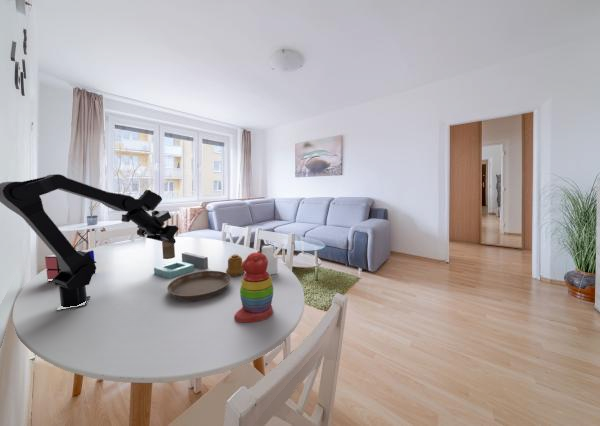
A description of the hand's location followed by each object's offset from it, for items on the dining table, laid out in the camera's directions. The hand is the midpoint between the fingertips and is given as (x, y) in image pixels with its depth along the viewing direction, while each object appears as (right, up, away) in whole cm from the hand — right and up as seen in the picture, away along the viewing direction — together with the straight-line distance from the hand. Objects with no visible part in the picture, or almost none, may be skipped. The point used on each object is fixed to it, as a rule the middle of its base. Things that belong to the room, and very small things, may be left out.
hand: (171, 241), depth 100 cm
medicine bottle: (+42, -13, -2) cm, 44 cm away
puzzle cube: (-35, -14, -8) cm, 39 cm away
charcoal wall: (+7, -12, +6) cm, 15 cm away
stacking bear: (+44, -17, -34) cm, 58 cm away
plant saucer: (+21, -15, -18) cm, 32 cm away
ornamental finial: (+29, -13, -3) cm, 32 cm away
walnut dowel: (-1, -7, -1) cm, 7 cm away
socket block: (+3, -13, -2) cm, 13 cm away
